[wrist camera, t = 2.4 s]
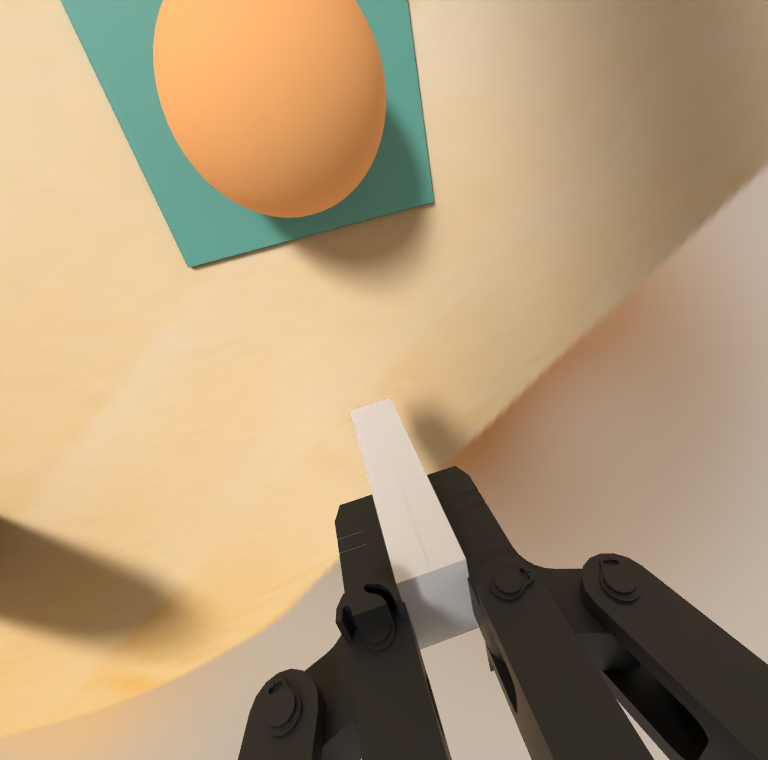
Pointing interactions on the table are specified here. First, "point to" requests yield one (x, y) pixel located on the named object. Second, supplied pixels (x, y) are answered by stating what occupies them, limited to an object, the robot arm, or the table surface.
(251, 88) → the ball
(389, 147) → the strip
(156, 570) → the table surface
